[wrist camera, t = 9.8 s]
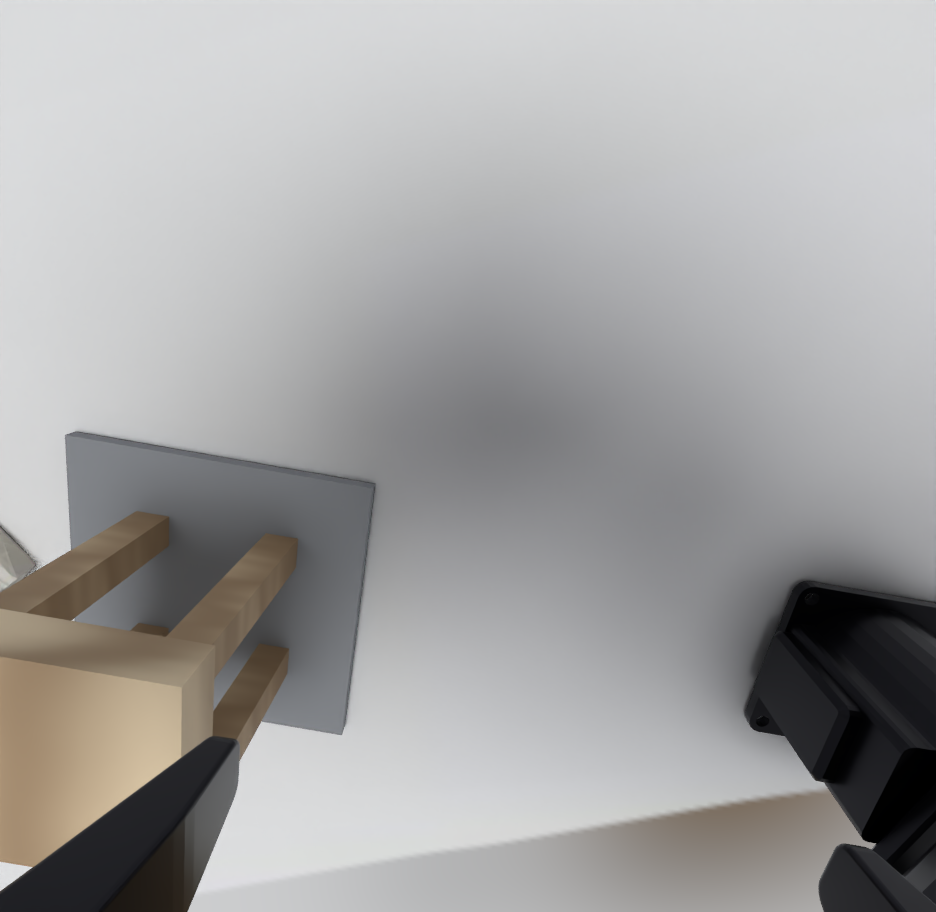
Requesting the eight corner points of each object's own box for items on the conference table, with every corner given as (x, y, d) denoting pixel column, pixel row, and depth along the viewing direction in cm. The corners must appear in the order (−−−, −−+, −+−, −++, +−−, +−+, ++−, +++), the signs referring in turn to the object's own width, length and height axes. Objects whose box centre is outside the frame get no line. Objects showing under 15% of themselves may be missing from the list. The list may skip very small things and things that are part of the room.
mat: (375, 483, 19) (372, 488, 19) (344, 725, 23) (341, 735, 22) (75, 431, 19) (65, 435, 19) (87, 681, 22) (78, 689, 22)
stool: (304, 534, 20) (181, 687, 12) (291, 678, 21) (178, 891, 14) (131, 504, 20) (-104, 639, 12) (134, 651, 21) (-68, 850, 14)
